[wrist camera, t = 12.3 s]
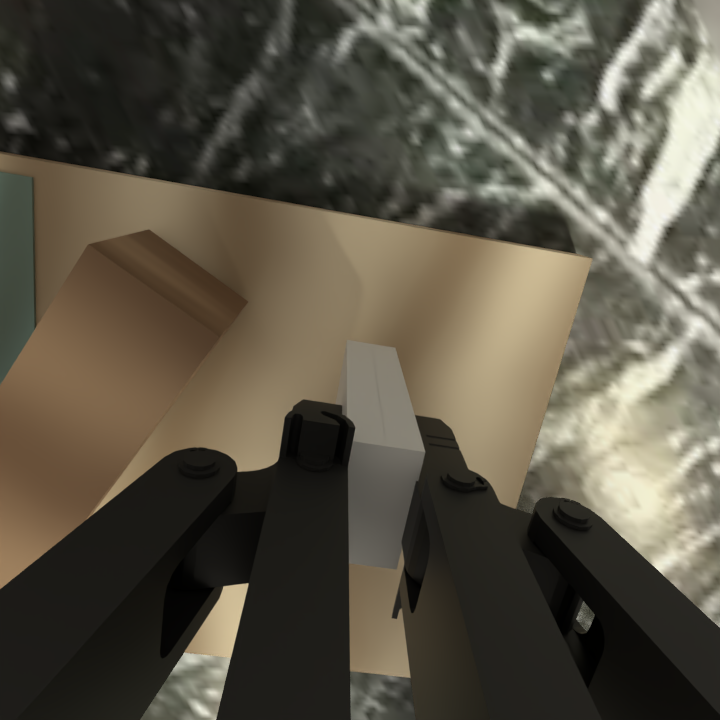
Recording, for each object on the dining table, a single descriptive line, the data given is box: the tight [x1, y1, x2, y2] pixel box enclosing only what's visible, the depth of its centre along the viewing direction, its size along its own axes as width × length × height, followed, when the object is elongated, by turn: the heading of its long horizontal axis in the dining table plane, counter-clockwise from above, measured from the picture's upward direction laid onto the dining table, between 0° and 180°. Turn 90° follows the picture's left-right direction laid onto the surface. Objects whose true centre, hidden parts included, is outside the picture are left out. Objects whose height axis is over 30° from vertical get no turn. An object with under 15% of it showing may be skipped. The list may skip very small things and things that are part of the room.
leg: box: [0, 229, 248, 589], centre depth 16 cm, size 12×4×4 cm, turn 142°
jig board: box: [0, 151, 592, 678], centre depth 17 cm, size 24×18×6 cm
